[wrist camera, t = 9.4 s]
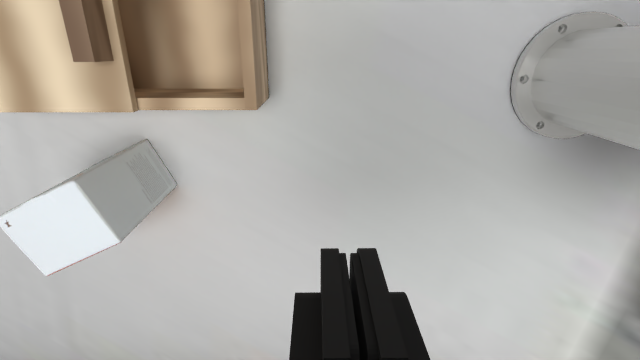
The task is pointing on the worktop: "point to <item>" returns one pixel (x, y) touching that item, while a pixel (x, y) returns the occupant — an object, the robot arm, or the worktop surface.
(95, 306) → the worktop surface
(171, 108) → the mailer box
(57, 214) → the small box
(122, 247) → the worktop surface
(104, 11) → the mailer lid
